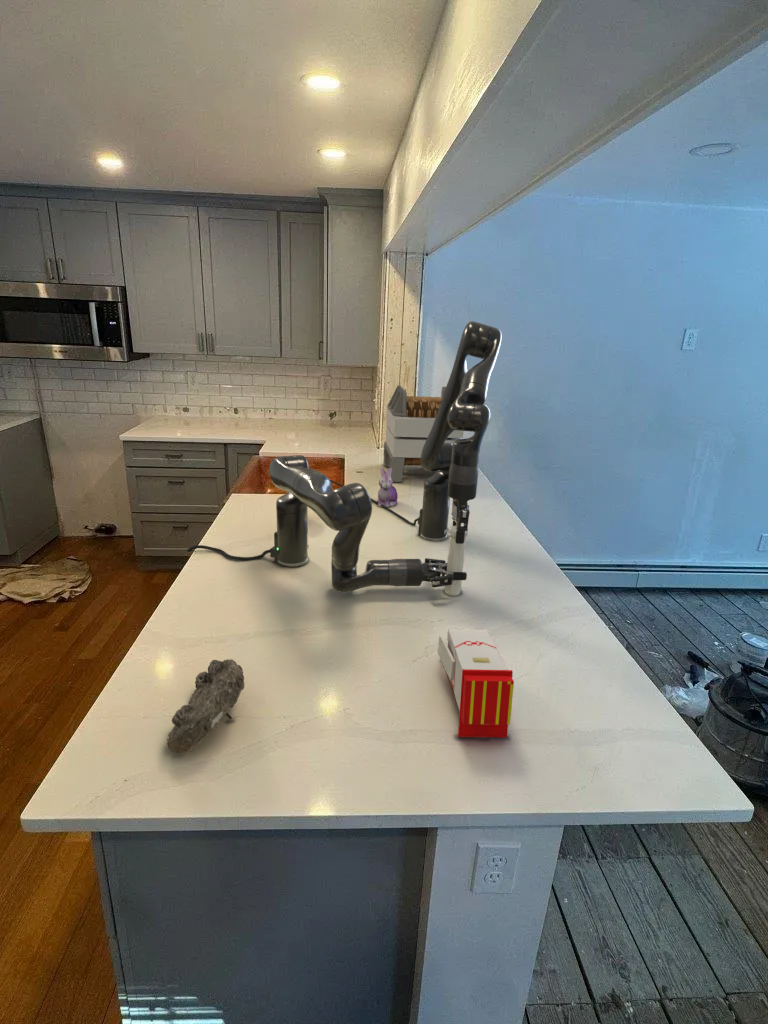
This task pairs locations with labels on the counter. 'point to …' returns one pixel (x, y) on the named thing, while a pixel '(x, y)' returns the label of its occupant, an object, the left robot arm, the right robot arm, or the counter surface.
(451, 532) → the lid
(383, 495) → the figurine
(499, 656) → the toy
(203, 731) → the fossil
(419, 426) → the grey wooden box
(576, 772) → the counter surface
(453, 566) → the white cylindrical bottle
